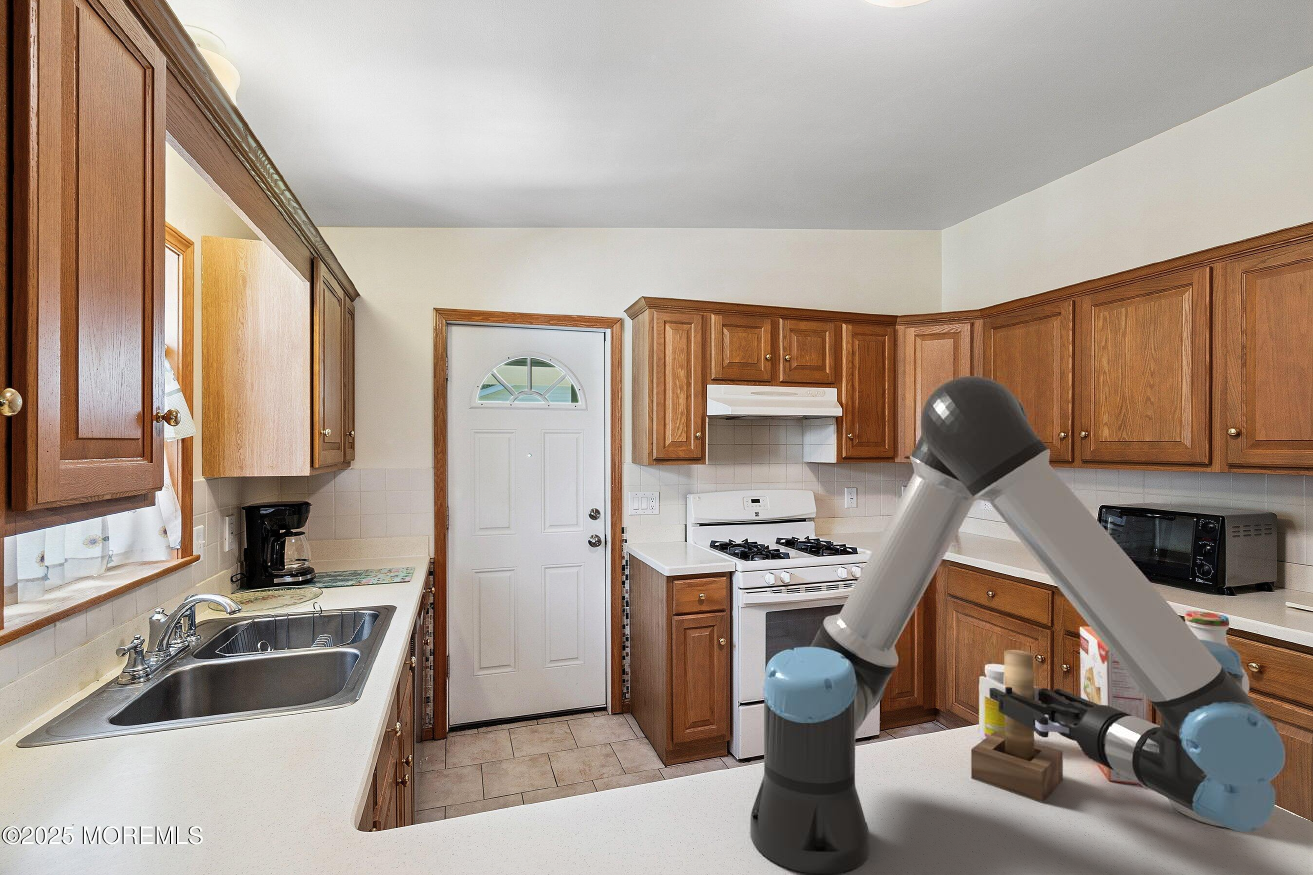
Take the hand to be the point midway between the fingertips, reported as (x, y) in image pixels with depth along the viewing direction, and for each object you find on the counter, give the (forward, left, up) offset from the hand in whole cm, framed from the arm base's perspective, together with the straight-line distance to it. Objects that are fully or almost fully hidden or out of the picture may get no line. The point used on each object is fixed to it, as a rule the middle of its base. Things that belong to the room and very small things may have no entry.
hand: (993, 683), depth 110 cm
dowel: (-3, -5, -9) cm, 11 cm away
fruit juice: (+7, -26, -13) cm, 30 cm away
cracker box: (+14, -13, -13) cm, 24 cm away
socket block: (-3, -4, -13) cm, 14 cm away
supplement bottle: (+10, +3, -13) cm, 17 cm away
